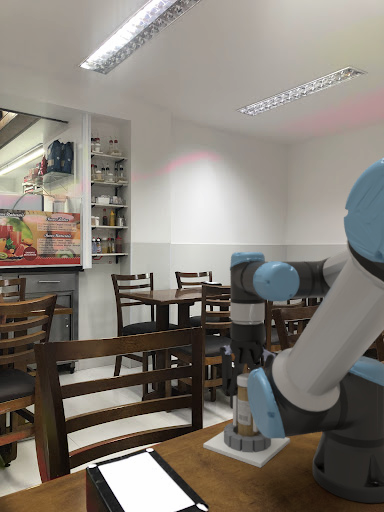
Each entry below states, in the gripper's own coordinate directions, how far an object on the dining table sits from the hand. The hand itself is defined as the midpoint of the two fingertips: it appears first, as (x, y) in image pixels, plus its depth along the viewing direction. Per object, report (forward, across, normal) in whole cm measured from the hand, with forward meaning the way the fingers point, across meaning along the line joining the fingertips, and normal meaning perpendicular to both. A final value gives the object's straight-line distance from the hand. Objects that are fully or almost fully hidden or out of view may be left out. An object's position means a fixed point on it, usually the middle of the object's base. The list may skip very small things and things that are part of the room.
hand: (247, 426), depth 91 cm
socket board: (+4, 0, 0) cm, 4 cm away
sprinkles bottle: (+2, 0, 0) cm, 2 cm away
